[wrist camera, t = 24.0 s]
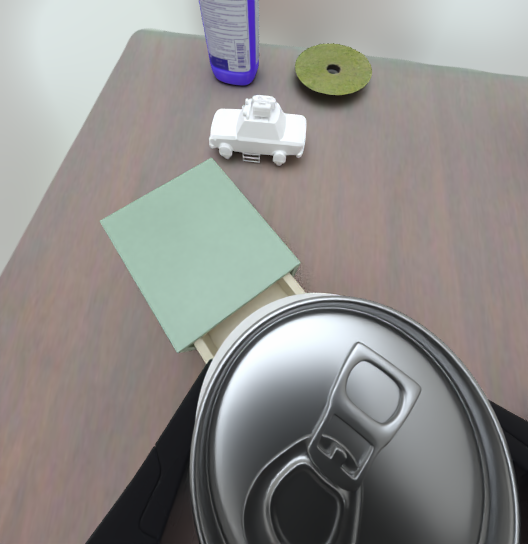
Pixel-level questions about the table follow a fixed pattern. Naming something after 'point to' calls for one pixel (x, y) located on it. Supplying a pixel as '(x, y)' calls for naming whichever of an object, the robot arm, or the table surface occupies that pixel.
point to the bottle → (232, 38)
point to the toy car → (258, 130)
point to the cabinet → (197, 251)
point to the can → (346, 434)
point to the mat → (333, 69)
